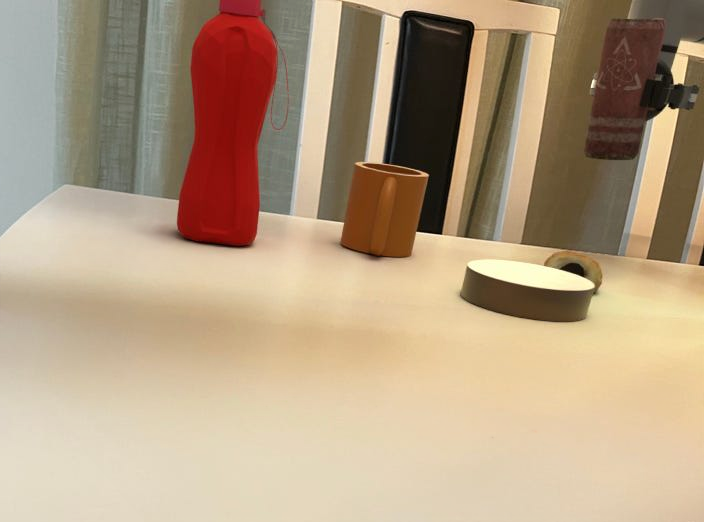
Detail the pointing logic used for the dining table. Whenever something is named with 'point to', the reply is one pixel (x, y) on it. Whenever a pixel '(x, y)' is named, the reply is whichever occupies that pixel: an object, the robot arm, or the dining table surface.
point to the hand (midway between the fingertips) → (652, 93)
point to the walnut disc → (527, 290)
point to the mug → (383, 209)
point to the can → (623, 87)
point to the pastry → (576, 266)
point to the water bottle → (228, 124)
